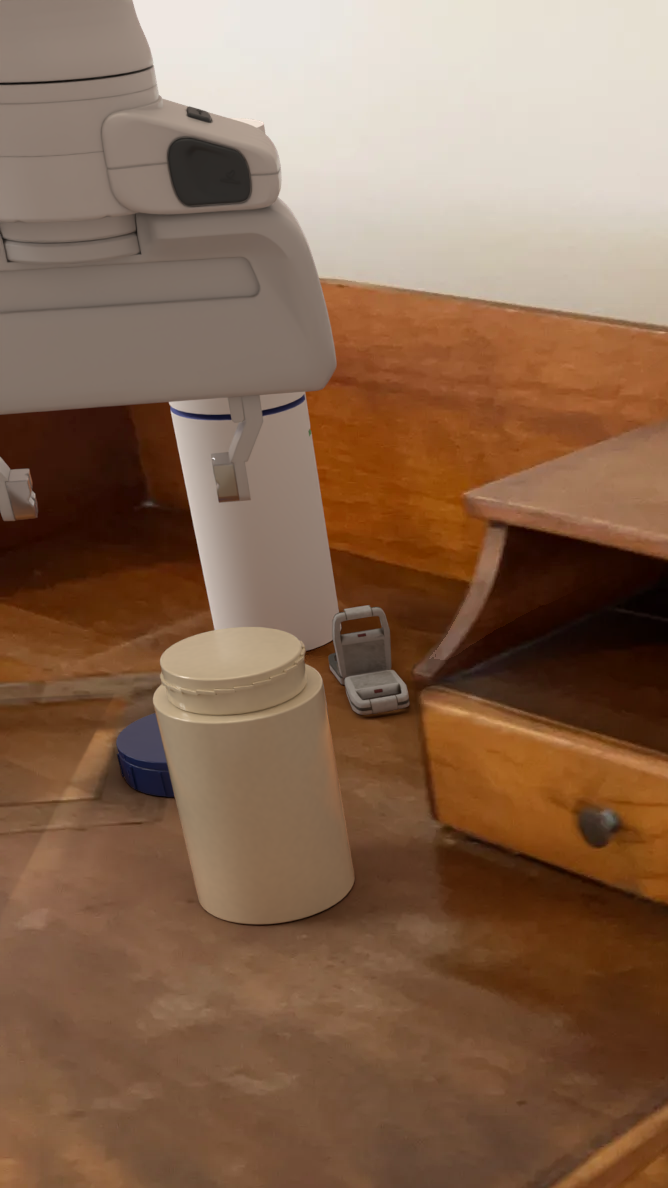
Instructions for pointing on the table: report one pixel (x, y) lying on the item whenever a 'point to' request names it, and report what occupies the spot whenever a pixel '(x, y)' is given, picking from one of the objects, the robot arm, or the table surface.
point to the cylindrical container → (260, 517)
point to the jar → (254, 775)
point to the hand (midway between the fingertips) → (129, 507)
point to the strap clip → (367, 664)
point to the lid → (144, 757)
